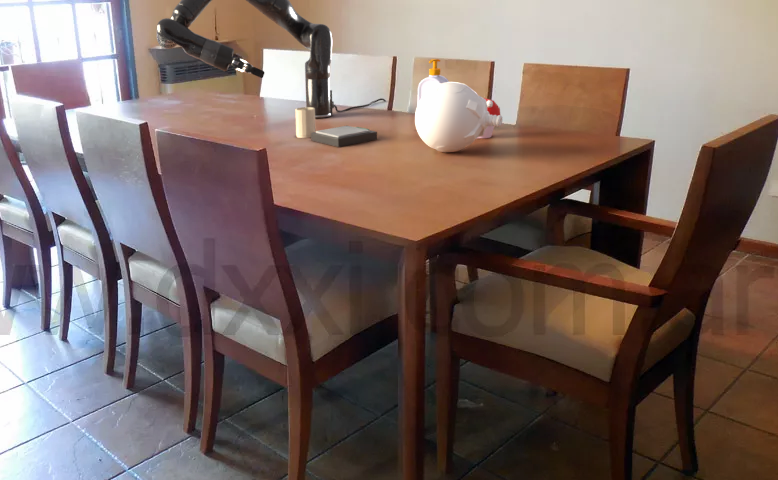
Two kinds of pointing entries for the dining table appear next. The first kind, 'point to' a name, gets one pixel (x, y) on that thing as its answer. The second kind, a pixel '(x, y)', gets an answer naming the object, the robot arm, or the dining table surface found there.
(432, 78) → the soap bottle
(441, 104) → the white rounded shape
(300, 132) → the tumbler
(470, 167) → the dining table surface
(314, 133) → the scale
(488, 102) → the mushroom
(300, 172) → the dining table surface
